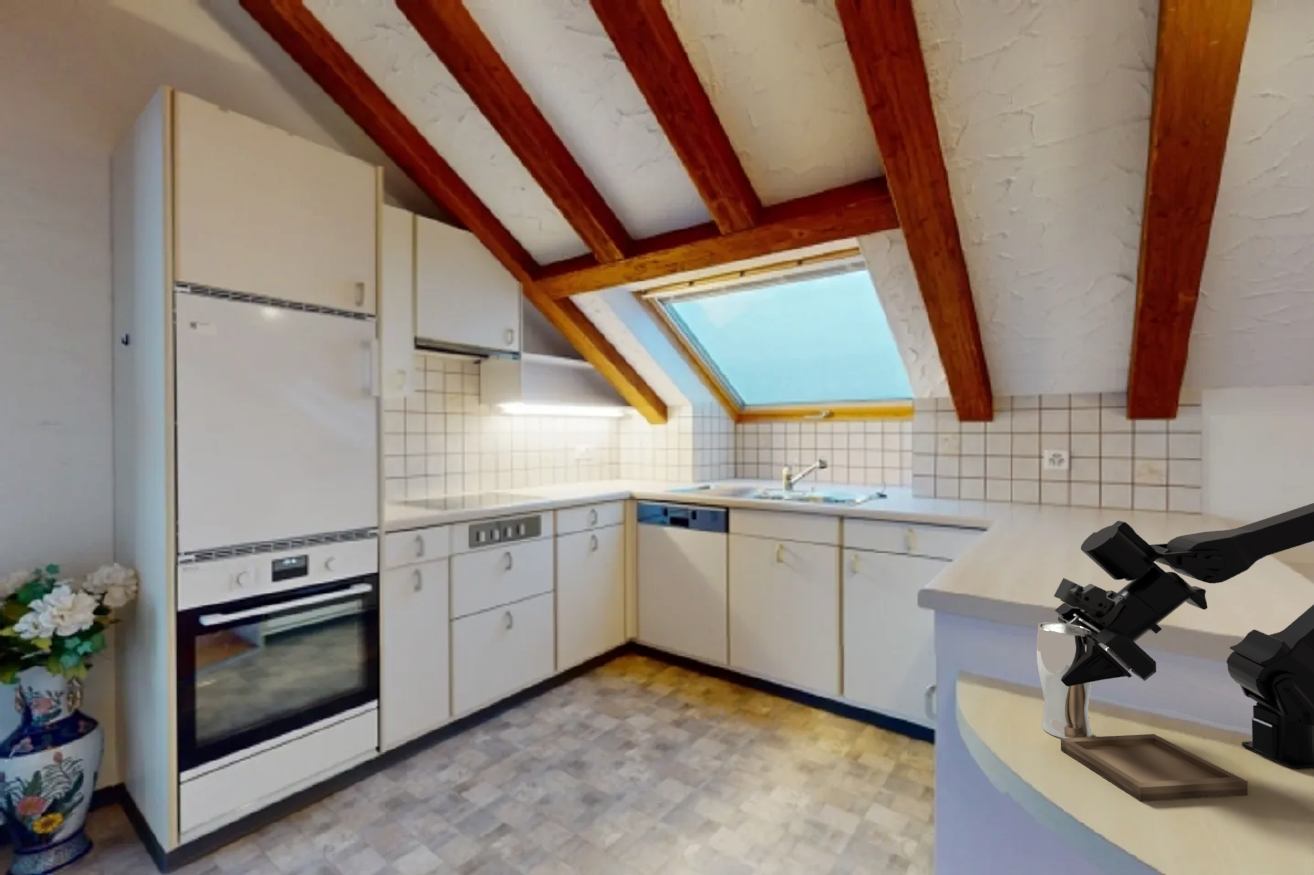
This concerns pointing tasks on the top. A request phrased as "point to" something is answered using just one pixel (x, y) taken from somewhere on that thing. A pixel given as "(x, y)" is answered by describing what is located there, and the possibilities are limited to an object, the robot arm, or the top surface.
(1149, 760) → the walnut tray
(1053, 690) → the silver metal tumbler
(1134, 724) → the top surface
